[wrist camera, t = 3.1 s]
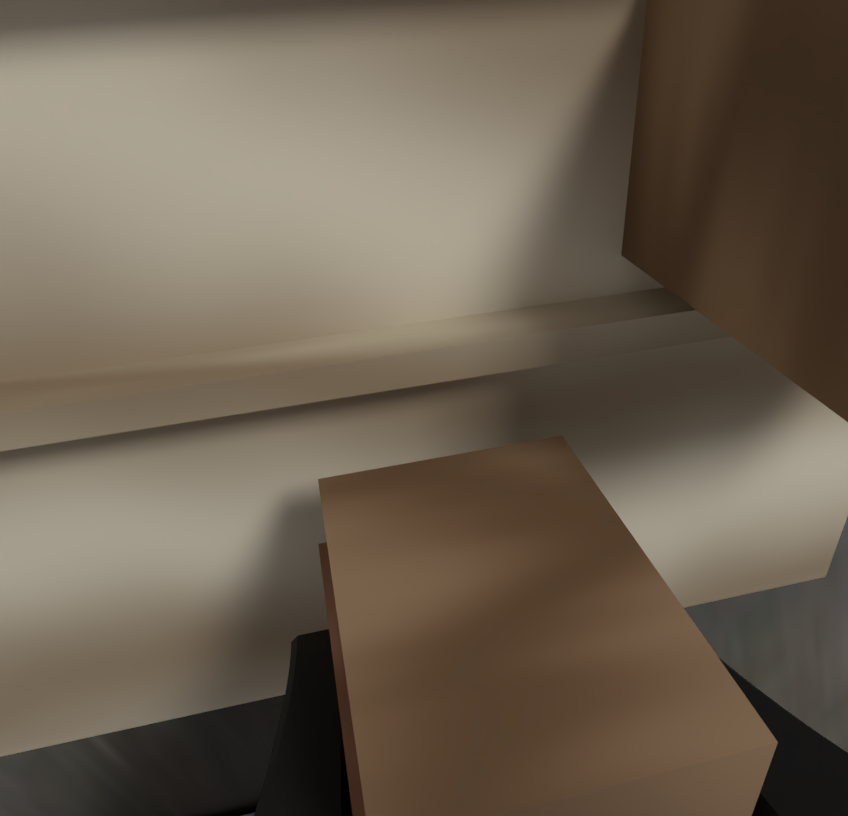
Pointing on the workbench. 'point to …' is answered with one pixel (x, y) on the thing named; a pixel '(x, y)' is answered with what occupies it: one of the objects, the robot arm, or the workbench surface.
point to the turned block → (520, 650)
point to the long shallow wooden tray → (334, 327)
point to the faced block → (749, 176)
